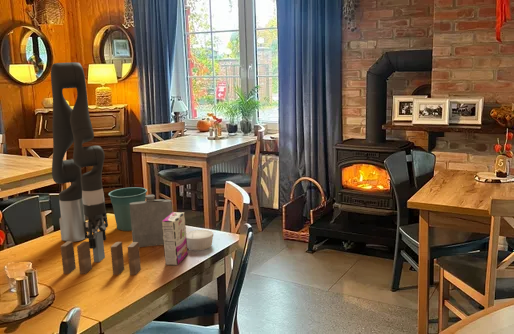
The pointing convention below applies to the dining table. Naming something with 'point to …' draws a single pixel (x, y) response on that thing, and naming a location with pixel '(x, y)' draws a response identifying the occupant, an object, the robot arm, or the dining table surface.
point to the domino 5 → (134, 258)
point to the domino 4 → (117, 258)
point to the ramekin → (199, 239)
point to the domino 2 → (84, 257)
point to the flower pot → (125, 205)
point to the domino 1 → (68, 257)
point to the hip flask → (149, 220)
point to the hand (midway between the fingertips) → (98, 244)
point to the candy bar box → (174, 238)
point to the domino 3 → (99, 247)
